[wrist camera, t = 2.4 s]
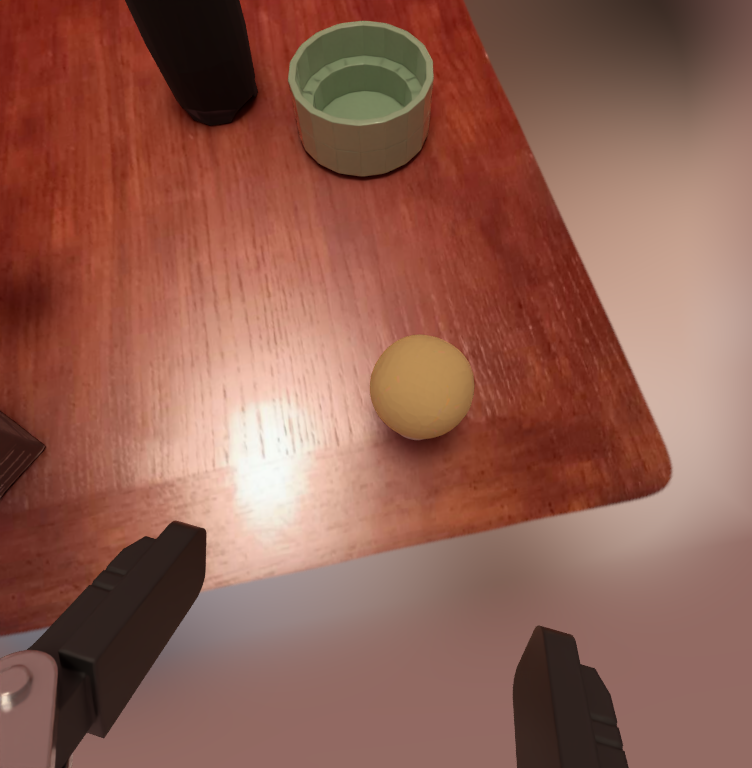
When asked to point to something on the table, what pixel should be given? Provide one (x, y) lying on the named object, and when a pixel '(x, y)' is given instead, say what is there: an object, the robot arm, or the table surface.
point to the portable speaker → (200, 53)
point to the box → (15, 451)
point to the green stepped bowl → (362, 97)
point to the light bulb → (422, 387)
